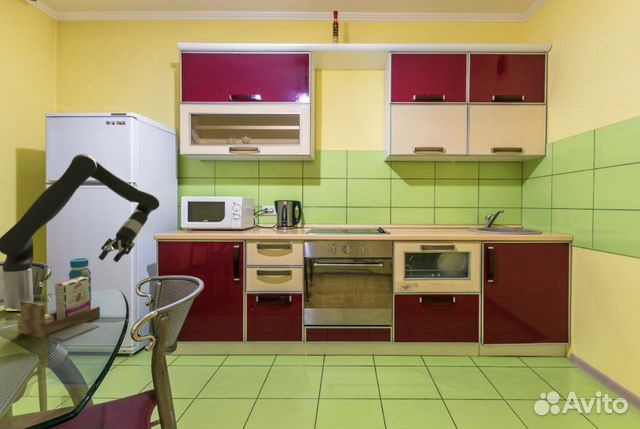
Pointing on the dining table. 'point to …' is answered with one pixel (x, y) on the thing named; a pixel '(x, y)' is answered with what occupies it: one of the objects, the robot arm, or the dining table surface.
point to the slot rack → (36, 323)
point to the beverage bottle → (80, 270)
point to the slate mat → (73, 331)
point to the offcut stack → (48, 319)
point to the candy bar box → (72, 297)
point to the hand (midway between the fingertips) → (107, 260)
